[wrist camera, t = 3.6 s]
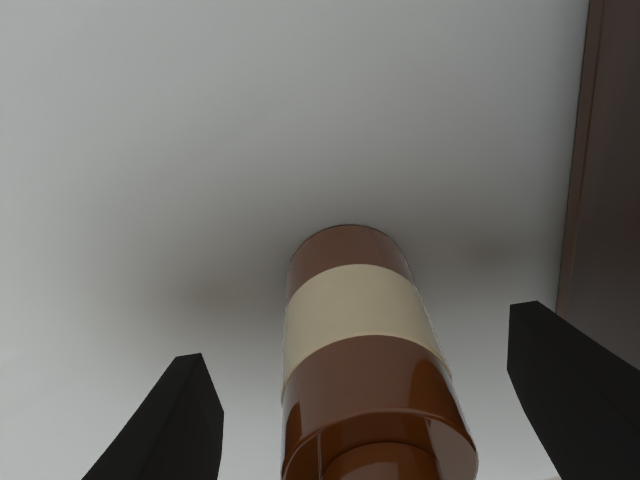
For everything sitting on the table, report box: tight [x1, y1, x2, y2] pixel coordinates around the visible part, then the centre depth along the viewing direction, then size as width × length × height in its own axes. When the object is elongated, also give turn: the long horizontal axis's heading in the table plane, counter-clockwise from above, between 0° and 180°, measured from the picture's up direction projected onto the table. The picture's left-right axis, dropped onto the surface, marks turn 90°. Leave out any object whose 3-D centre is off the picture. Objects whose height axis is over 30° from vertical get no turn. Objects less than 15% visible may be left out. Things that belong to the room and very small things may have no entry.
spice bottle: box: [280, 225, 479, 480], centre depth 10 cm, size 4×4×8 cm
